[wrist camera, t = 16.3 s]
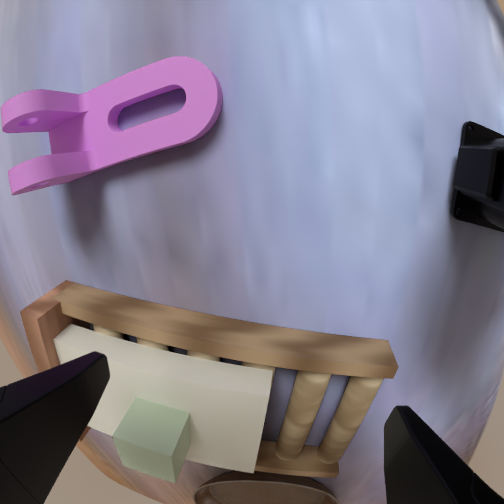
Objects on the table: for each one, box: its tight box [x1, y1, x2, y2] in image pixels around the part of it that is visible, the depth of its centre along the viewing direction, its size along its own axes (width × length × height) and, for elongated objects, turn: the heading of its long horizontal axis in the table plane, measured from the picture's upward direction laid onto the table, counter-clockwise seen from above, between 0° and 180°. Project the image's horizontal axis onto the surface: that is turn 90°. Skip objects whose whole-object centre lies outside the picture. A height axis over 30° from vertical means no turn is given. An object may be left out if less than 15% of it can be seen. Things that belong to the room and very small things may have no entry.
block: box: [112, 397, 191, 483], centre depth 17 cm, size 4×4×4 cm
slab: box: [53, 324, 273, 473], centre depth 20 cm, size 16×10×2 cm, turn 85°
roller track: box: [20, 280, 398, 478], centre depth 21 cm, size 26×14×6 cm, turn 83°
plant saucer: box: [193, 470, 339, 504], centre depth 28 cm, size 18×18×3 cm
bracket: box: [1, 56, 223, 195], centre depth 15 cm, size 13×6×7 cm, turn 101°
